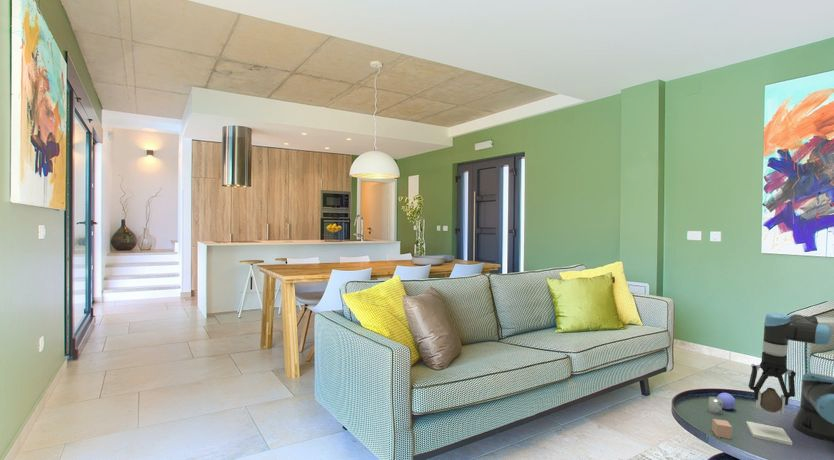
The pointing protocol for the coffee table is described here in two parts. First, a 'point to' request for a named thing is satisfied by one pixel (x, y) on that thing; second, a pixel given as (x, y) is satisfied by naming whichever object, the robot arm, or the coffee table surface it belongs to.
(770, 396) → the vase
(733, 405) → the sphere
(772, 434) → the board
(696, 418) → the coffee table surface
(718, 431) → the terracotta block
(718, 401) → the metal tin
